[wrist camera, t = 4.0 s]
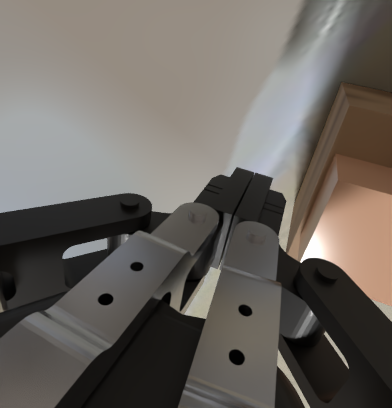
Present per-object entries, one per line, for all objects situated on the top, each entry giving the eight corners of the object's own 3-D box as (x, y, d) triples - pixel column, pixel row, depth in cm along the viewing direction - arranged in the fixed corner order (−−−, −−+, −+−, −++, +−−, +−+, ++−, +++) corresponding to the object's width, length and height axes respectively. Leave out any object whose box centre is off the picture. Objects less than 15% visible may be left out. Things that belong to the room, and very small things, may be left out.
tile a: (300, 236, 14) (295, 272, 12) (335, 153, 11) (338, 180, 9) (396, 267, 13) (409, 312, 11) (453, 184, 11) (485, 221, 8)
